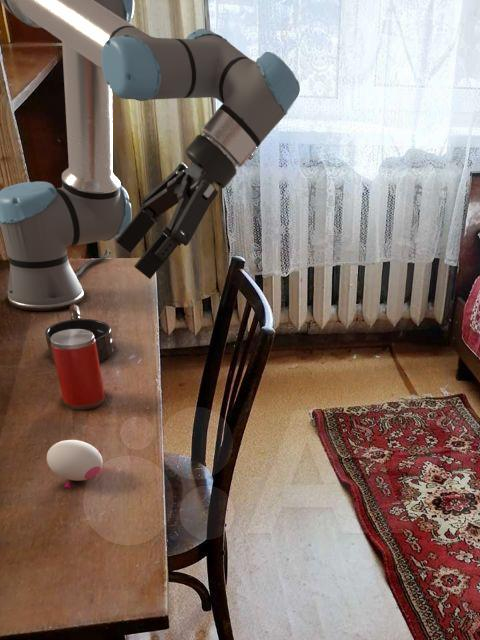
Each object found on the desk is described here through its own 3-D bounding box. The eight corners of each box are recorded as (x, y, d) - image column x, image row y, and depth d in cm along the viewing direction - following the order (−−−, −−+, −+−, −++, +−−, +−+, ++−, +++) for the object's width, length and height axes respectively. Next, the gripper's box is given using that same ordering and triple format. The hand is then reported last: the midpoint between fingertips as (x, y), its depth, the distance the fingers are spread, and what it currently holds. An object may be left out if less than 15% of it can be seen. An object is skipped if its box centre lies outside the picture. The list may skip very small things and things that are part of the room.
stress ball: (111, 492, 97) (120, 447, 97) (83, 493, 89) (93, 444, 89) (63, 481, 97) (72, 437, 97) (31, 481, 90) (40, 433, 89)
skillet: (69, 337, 131) (65, 315, 129) (124, 344, 130) (120, 323, 128) (37, 361, 122) (32, 338, 119) (96, 369, 121) (91, 346, 118)
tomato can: (76, 389, 114) (63, 326, 108) (112, 394, 114) (101, 331, 107) (56, 407, 109) (41, 342, 102) (93, 412, 108) (81, 347, 102)
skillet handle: (83, 326, 129) (81, 317, 128) (72, 327, 128) (70, 318, 127) (80, 311, 135) (78, 302, 134) (69, 312, 134) (67, 303, 133)
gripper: (266, 187, 94) (171, 301, 96) (213, 155, 112) (134, 252, 114) (228, 146, 89) (129, 268, 91) (178, 119, 106) (96, 222, 109)
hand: (131, 259), depth 103 cm, fingers open, 13 cm apart
